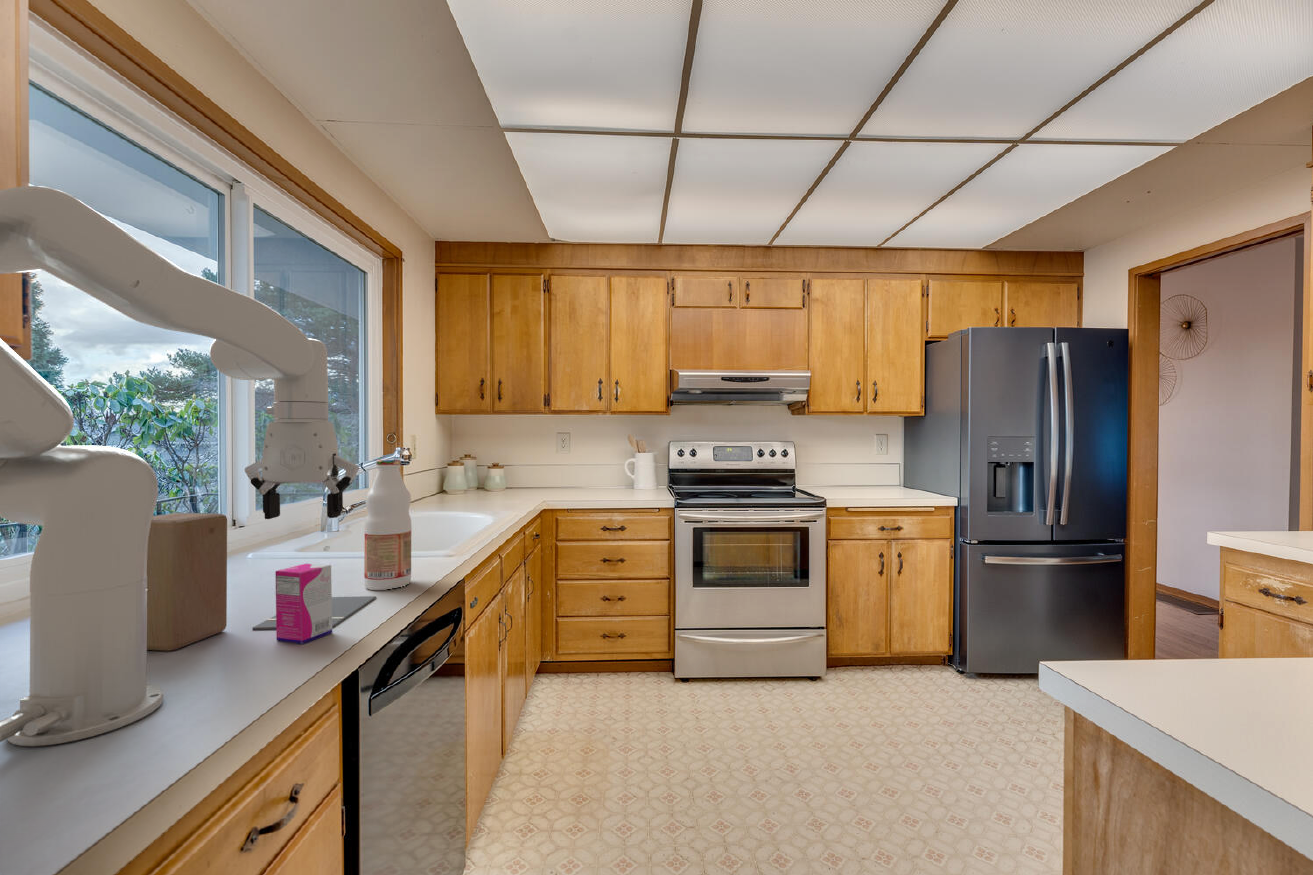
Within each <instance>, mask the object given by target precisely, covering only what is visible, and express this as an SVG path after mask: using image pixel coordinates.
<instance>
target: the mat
mask: <svg viewBox="0 0 1313 875" xmlns="http://www.w3.org/2000/svg"><path fill="white" fill-rule="evenodd" d="M375 598H376V599H377V595H368V596H365V595H363V596H332V629H334V627H336V626H338V625H339V624H340V623H342V622H343V621H345V620H346V619H348V618H350V617H351V616H352V615H354V614H355V613H357V612H358V611H359V610H361V609H363V608H364V607H365V606H367V605H368V604H370V603H371V602H373V601H374V600H376V599H375ZM373 599H374V600H373ZM372 600H373V601H372ZM261 630H262V631H263V630H264V631H266V630H271V631H272V630H276V615H274V616H272V617H270V618H267V619H265V620H264V621H263V622H261V623H259V624H256V625H255V626H253V627H252V631H261Z"/></svg>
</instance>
